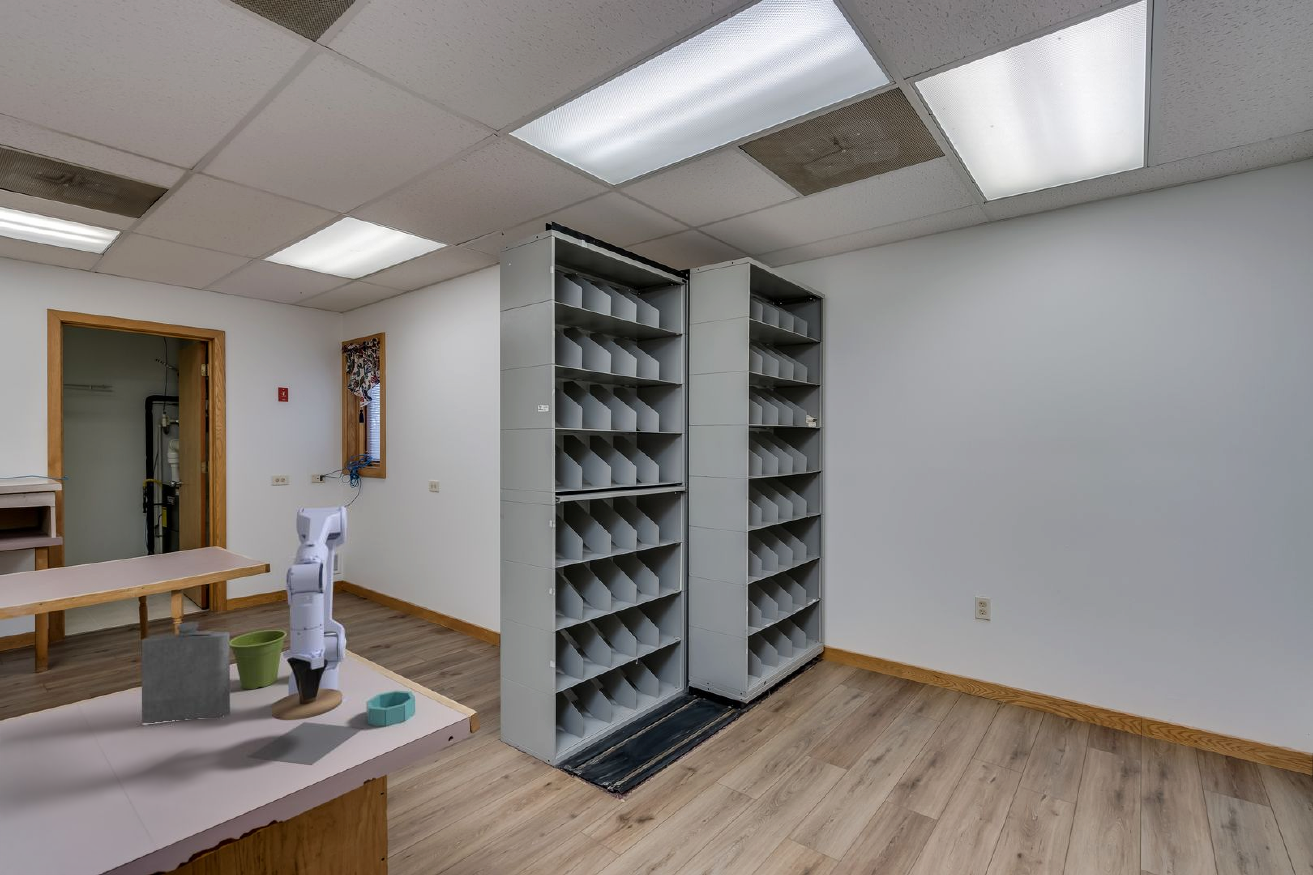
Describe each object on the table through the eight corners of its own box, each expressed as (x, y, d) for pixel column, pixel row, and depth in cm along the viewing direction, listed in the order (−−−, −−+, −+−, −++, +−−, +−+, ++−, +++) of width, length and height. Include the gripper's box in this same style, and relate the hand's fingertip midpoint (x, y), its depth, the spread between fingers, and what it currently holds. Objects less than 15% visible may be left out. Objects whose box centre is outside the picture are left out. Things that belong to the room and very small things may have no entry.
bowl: (357, 726, 126) (357, 707, 126) (385, 707, 135) (385, 689, 135) (396, 730, 124) (396, 710, 124) (422, 710, 133) (422, 692, 133)
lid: (255, 717, 114) (255, 690, 114) (304, 691, 125) (304, 667, 125) (311, 722, 111) (311, 694, 111) (355, 695, 123) (355, 670, 123)
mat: (246, 758, 113) (246, 756, 113) (304, 724, 127) (304, 722, 127) (311, 766, 110) (311, 764, 110) (363, 730, 124) (363, 728, 124)
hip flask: (138, 726, 126) (137, 629, 126) (149, 717, 130) (149, 624, 130) (226, 717, 130) (225, 623, 130) (234, 709, 134) (233, 618, 134)
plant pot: (241, 677, 152) (240, 632, 152) (294, 672, 155) (293, 628, 155) (219, 696, 141) (219, 647, 141) (277, 691, 143) (276, 643, 143)
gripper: (274, 621, 121) (275, 690, 121) (293, 639, 110) (293, 714, 110) (314, 614, 126) (314, 680, 126) (335, 630, 115) (336, 702, 115)
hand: (307, 695), depth 118 cm, fingers closed on lid, 3 cm apart
